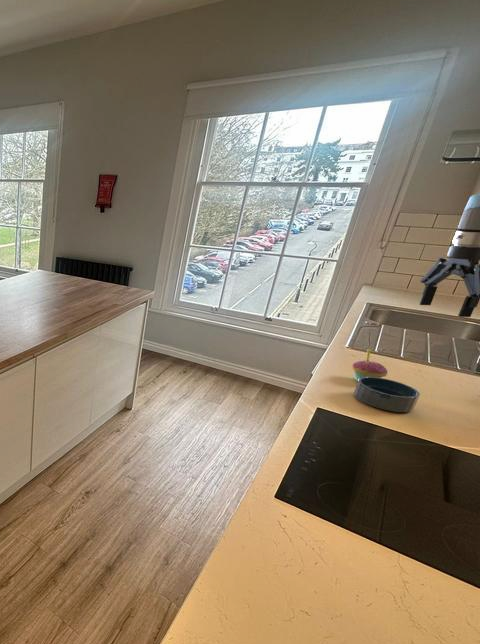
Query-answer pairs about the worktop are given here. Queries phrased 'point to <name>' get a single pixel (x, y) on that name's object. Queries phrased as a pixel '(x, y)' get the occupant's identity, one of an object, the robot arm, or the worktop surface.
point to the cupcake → (368, 368)
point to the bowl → (386, 394)
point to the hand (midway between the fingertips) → (443, 310)
